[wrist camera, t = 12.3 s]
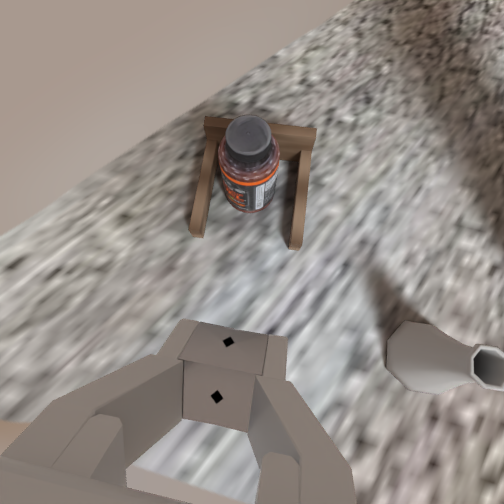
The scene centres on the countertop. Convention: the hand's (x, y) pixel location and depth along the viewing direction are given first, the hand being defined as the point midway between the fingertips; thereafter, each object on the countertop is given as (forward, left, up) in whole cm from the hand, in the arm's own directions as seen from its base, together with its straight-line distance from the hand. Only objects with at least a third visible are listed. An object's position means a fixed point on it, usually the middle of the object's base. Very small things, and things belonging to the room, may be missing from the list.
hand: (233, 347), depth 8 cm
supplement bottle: (-6, -16, -25) cm, 30 cm away
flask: (-16, +8, -25) cm, 30 cm away
